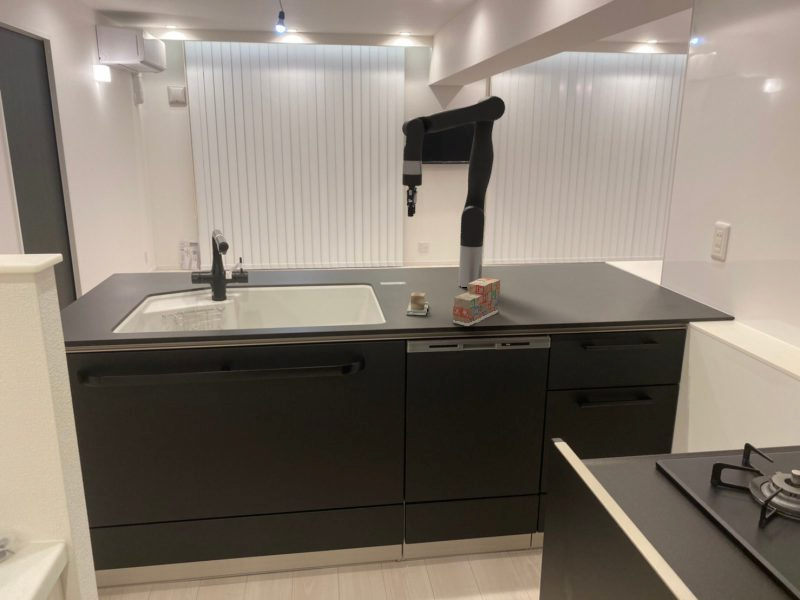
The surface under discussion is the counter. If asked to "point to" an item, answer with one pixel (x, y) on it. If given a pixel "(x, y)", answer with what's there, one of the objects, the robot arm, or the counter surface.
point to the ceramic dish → (416, 310)
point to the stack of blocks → (477, 300)
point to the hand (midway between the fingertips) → (411, 215)
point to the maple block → (417, 301)
